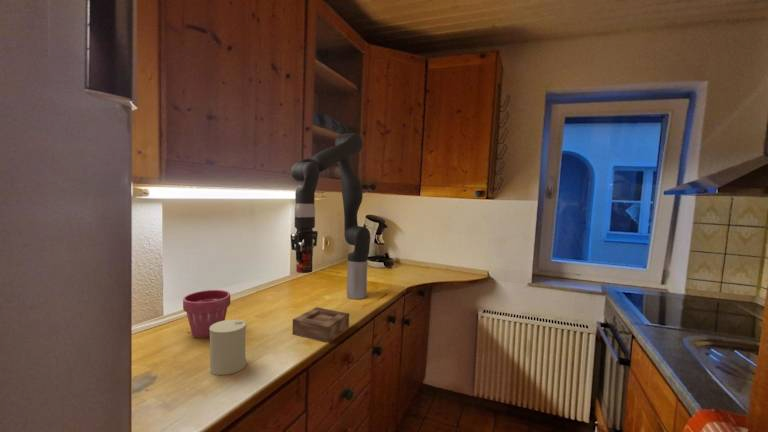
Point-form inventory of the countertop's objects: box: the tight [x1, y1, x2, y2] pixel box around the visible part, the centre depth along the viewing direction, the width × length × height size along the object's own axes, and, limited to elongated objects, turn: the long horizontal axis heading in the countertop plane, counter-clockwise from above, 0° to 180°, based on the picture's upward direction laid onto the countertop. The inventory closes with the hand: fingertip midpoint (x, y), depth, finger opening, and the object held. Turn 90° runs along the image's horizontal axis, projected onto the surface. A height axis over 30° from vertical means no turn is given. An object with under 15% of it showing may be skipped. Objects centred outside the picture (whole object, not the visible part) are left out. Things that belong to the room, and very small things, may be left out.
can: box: [208, 319, 247, 376], centre depth 93 cm, size 9×9×12 cm
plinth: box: [292, 306, 350, 343], centre depth 119 cm, size 14×14×5 cm
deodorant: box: [295, 232, 314, 274], centre depth 129 cm, size 6×6×15 cm
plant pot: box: [182, 289, 231, 339], centre depth 114 cm, size 14×14×13 cm
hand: (304, 259), depth 129 cm, fingers closed on deodorant, 6 cm apart
